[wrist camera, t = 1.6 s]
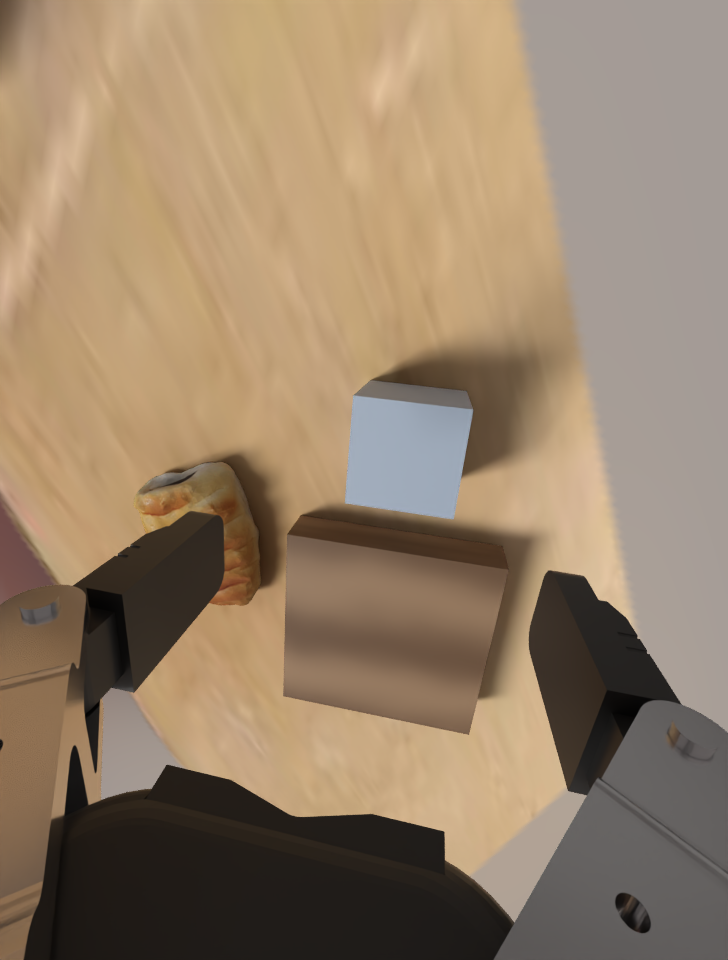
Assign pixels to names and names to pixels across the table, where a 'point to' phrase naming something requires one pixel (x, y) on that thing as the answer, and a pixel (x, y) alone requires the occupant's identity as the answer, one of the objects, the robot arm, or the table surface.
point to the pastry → (211, 494)
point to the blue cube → (407, 448)
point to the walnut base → (389, 620)
